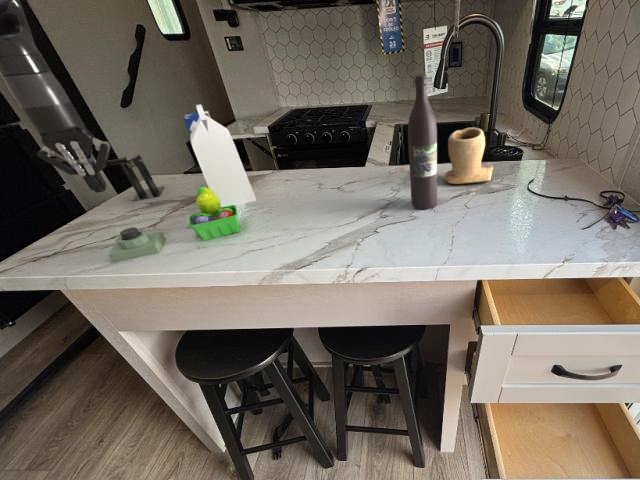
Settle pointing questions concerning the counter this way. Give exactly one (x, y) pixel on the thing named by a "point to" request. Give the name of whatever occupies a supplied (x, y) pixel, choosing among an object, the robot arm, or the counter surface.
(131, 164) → the lever
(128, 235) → the button
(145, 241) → the control block
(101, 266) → the counter surface
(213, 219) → the fruit basket
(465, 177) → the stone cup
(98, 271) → the counter surface
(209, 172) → the milk
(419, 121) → the wine bottle
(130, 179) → the bracket
